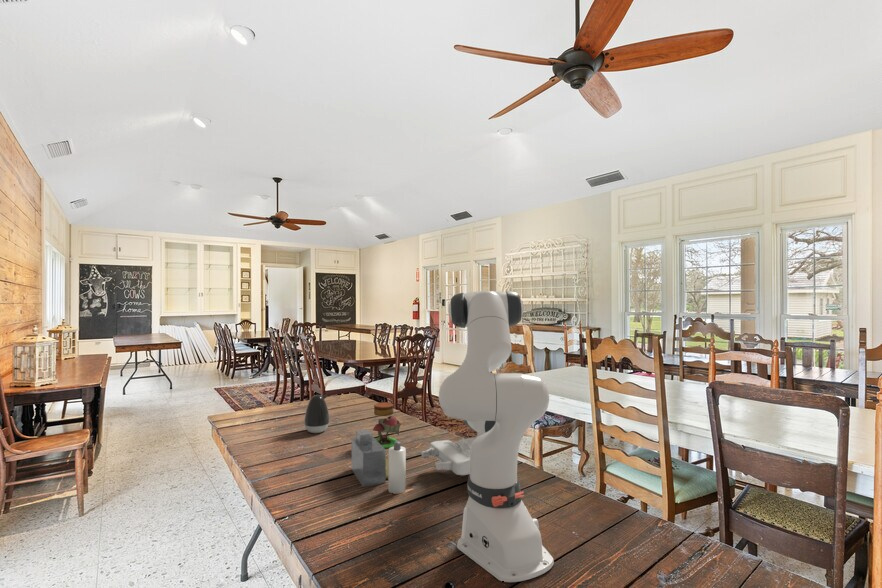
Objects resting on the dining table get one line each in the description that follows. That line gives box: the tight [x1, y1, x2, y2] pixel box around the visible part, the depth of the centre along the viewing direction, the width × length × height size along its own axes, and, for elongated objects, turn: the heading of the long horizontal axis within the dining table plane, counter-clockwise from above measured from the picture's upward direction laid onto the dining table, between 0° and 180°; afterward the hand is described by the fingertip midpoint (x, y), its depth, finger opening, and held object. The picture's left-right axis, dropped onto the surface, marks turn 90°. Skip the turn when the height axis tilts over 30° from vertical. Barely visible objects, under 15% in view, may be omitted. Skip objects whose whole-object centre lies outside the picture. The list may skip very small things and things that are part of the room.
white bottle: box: [387, 440, 407, 495], centre depth 124 cm, size 5×5×14 cm
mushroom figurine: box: [372, 401, 402, 449], centre depth 162 cm, size 12×13×15 cm
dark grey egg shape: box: [303, 394, 331, 434], centre depth 176 cm, size 10×10×15 cm
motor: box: [351, 428, 389, 488], centre depth 136 cm, size 16×13×13 cm
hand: (428, 460), depth 128 cm, fingers open, 8 cm apart
